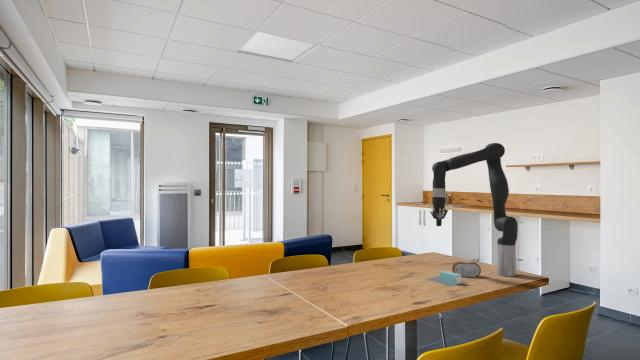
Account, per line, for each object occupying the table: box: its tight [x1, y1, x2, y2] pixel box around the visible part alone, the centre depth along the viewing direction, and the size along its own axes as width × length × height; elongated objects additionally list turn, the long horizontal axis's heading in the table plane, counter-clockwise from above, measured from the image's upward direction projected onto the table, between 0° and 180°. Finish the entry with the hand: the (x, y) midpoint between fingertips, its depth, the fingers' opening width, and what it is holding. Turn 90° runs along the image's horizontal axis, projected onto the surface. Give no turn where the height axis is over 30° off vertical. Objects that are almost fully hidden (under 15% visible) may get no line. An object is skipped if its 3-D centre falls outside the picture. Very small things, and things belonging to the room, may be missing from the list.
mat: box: [425, 275, 469, 287], centre depth 191 cm, size 14×17×1 cm
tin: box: [451, 261, 482, 278], centre depth 201 cm, size 15×3×8 cm, turn 84°
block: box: [439, 270, 462, 286], centre depth 188 cm, size 4×4×10 cm
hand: (439, 226), depth 211 cm, fingers closed
